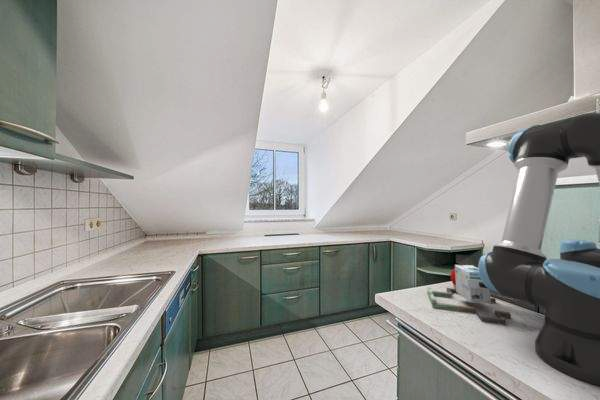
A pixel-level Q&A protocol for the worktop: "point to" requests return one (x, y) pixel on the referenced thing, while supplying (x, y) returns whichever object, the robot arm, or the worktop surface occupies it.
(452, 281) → the fruit
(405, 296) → the worktop surface
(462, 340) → the worktop surface
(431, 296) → the trap lane
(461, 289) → the light bulb box
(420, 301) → the worktop surface
